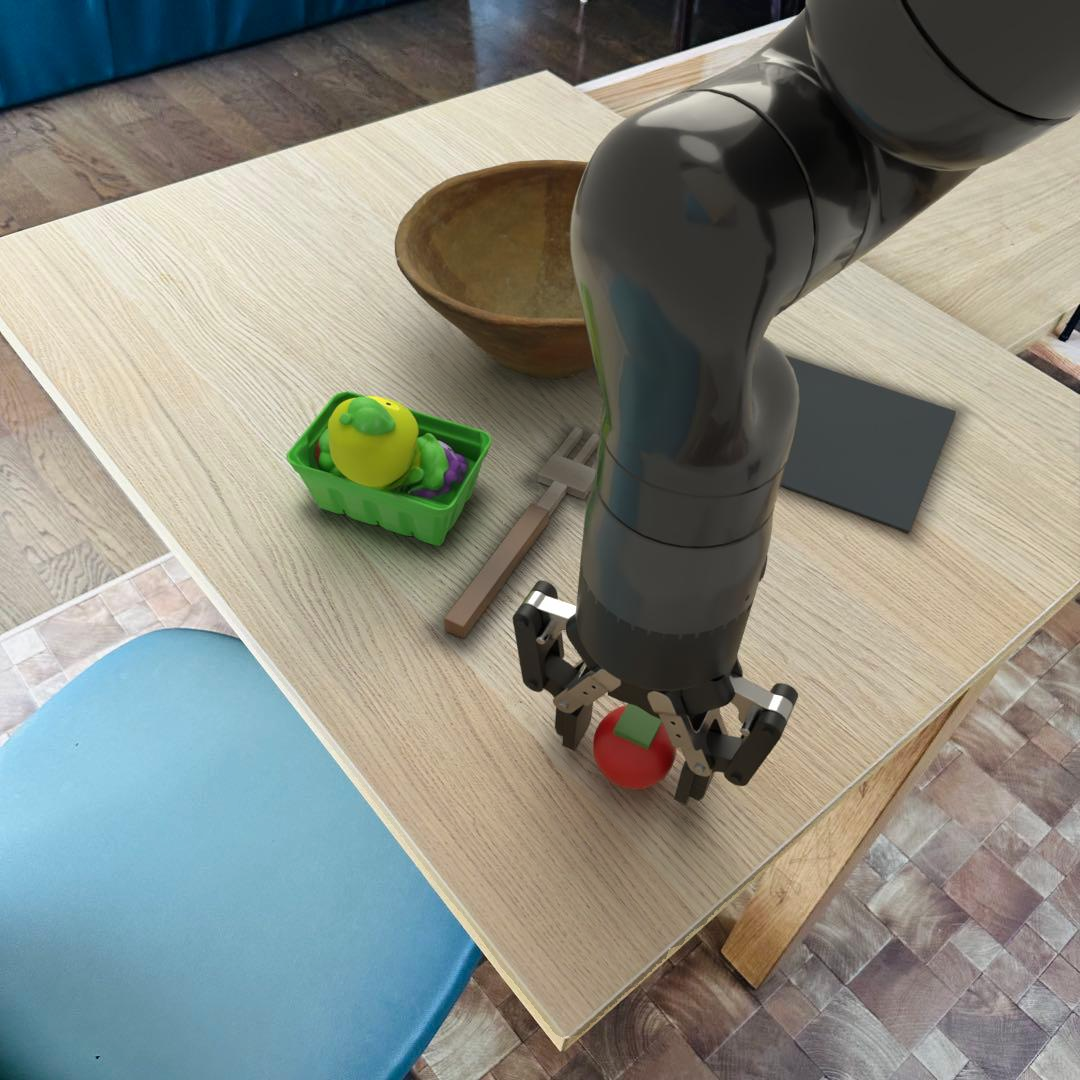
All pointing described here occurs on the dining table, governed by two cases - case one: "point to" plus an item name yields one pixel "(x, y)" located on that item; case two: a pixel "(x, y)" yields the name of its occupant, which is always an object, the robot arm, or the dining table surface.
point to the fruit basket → (390, 465)
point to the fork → (525, 531)
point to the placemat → (863, 445)
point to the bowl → (503, 263)
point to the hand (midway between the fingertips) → (631, 761)
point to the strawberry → (633, 748)
